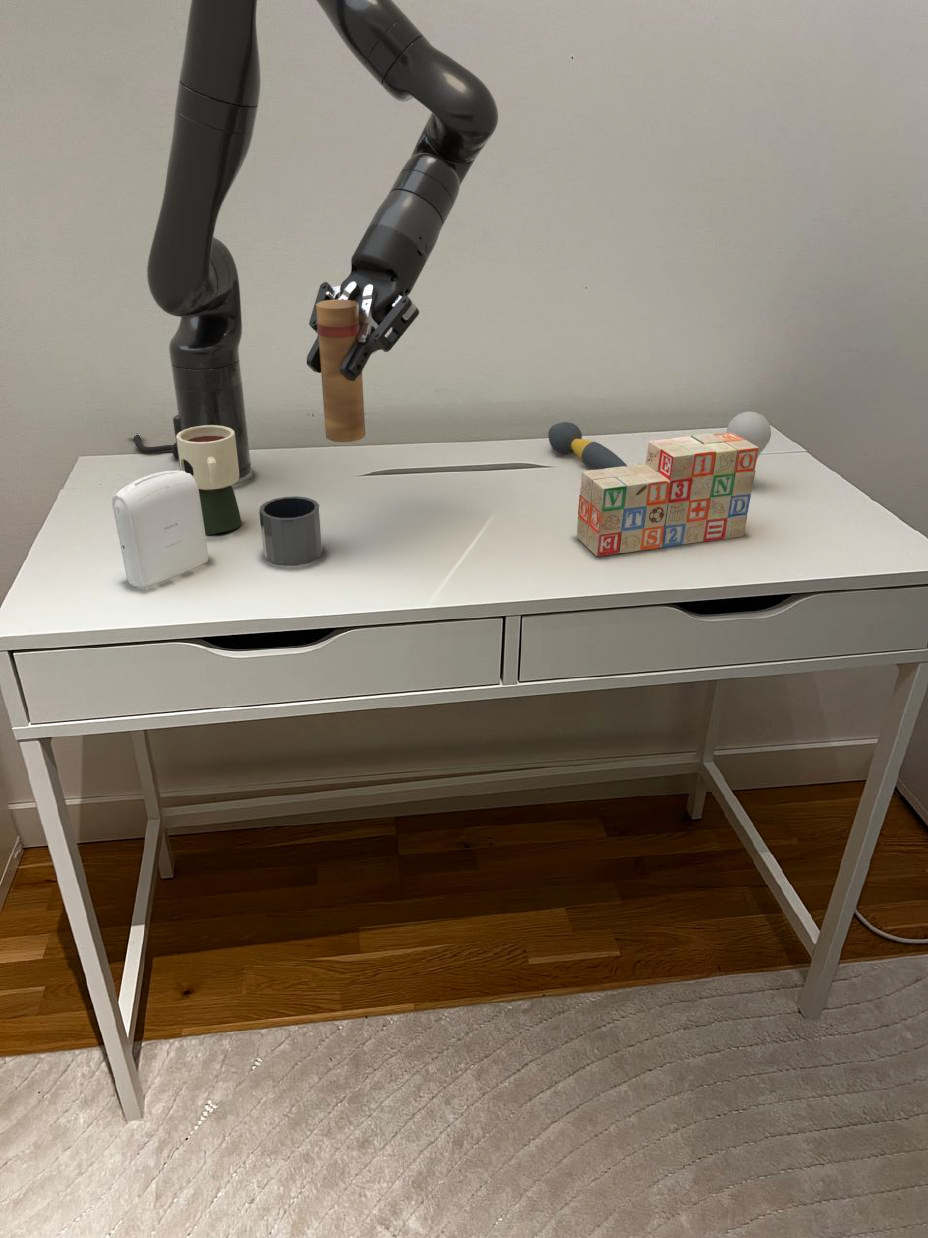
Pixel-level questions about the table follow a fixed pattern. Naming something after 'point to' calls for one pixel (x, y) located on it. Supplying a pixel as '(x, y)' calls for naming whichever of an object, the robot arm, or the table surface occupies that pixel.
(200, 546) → the photo printer
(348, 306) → the red-banded tan cylinder
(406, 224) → the robot arm
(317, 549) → the cup
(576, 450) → the wand massager
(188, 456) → the character mug
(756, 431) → the lightbulb
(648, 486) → the stack of blocks
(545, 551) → the table surface
